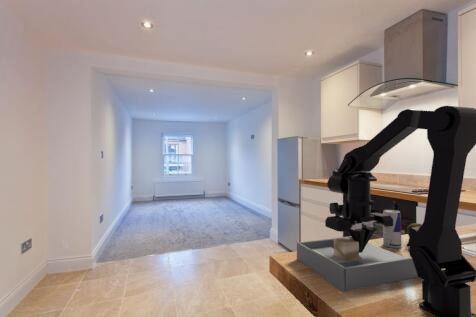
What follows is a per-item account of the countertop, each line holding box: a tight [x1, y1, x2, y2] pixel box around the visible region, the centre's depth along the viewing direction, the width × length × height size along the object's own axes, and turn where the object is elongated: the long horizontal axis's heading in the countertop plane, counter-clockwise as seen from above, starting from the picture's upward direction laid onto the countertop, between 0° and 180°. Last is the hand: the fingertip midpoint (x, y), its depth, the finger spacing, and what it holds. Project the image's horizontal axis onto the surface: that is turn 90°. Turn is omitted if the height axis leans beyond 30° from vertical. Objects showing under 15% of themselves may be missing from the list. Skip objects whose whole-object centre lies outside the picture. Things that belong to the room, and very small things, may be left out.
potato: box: [406, 222, 423, 236], centre depth 85 cm, size 8×13×8 cm, turn 114°
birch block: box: [334, 236, 359, 261], centre depth 68 cm, size 4×4×4 cm
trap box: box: [296, 235, 419, 293], centre depth 68 cm, size 20×25×5 cm
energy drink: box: [382, 209, 402, 249], centre depth 85 cm, size 5×5×12 cm
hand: (359, 252), depth 69 cm, fingers closed
